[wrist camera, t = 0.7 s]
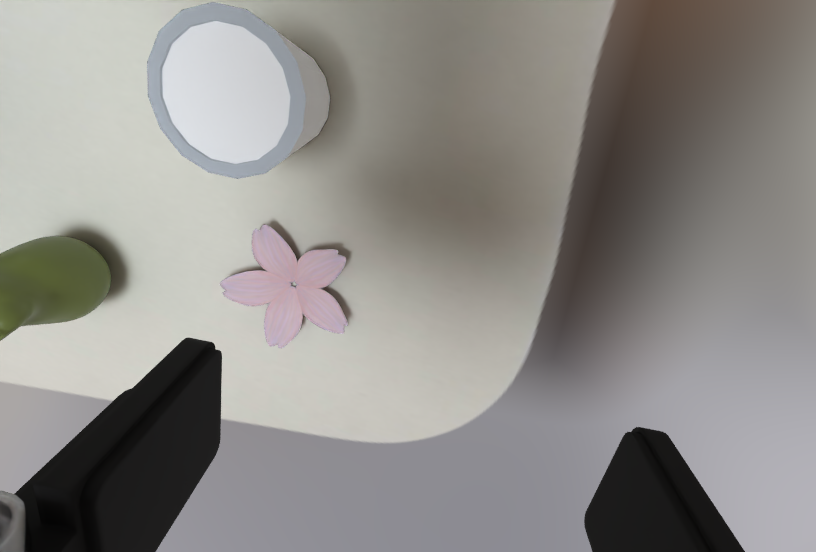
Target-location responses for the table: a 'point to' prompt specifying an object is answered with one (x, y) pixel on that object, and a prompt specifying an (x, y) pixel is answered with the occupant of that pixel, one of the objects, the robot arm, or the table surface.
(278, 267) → the flower
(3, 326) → the pear
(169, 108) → the white short cylinder
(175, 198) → the table surface
